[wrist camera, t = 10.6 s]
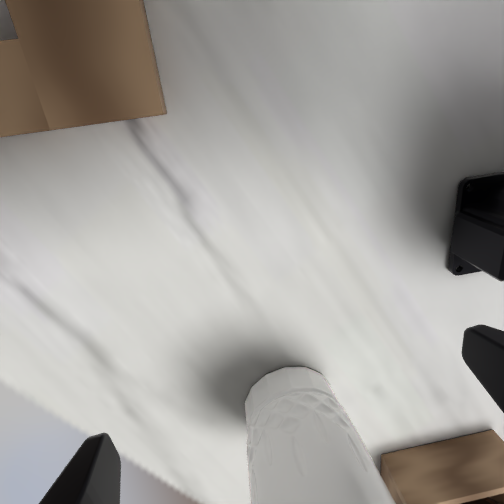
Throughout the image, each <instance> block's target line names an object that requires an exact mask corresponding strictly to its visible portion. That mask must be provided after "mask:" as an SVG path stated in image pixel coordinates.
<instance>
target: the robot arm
mask: <svg viewBox="0 0 504 504" xmlns="http://www.w3.org/2000/svg"><path fill="white" fill-rule="evenodd" d="M469 184H470V187H469V188H468V189H467V186H468V185H469ZM458 266H459V267H458ZM457 267H458V268H457ZM456 268H457V269H456ZM448 269H449V271H450V272H451V273H452V274H454V275H464V274H469V273H474V272H480V271H484V272H485V273H487V274H489V275H490V276H492V277H494V278H495V279H497V280H499V281H504V172H499V173H493V174H487V175H481V176H474V177H468V178H465V179H463V180H462V181H461V182H460V184H459V187H458V194H457V202H456V210H455V217H454V225H453V233H452V242H451V250H450V258H449V266H448ZM462 357H463V359H464V361H465V363H466V364H467V366H468V367H469V368H470V370H471V371H472V372H473V374H474V375H475V376H476V377H477V379H478V380H479V381H480V383H481V384H482V385H483V387H484V388H485V389H486V391H487V392H488V393H489V395H490V396H491V397H492V398H493V400H494V401H495V402H496V404H497V405H498V406H499V408H500V409H501V410H502V411H503V413H504V331H501V330H498V329H495V328H492V327H489V326H486V325H476V326H473V327H469V328H467V329H466V330H465V331H464V337H463V345H462ZM120 477H121V461H120V457H119V454H118V452H117V450H116V448H115V446H114V444H113V442H112V440H111V438H110V436H109V435H108V434H107V433H101V434H98V435H94V436H91V437H89V438H87V439H86V440H85V441H84V443H83V444H82V445H81V447H80V448H79V449H78V451H77V452H76V454H75V455H74V456H73V458H72V459H71V460H70V462H69V463H68V464H67V466H66V467H65V468H64V470H63V471H62V473H61V474H60V476H59V477H58V478H57V479H56V481H55V482H54V484H53V485H52V486H51V488H50V489H49V490H48V492H47V493H46V495H45V496H44V498H43V499H42V500H41V501H40V503H39V504H120Z"/></svg>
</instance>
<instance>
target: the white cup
mask: <svg viewBox="0 0 504 504" xmlns="http://www.w3.org/2000/svg"><path fill="white" fill-rule="evenodd" d="M245 412H246V422H247V443H246V444H247V460H248V475H249V487H250V499H251V504H396V503H395V501H394V499H393V497H392V495H391V493H390V492H389V490H388V488H387V486H386V484H385V482H384V480H383V478H382V477H381V475H380V473H379V471H378V469H377V467H376V465H375V464H374V462H373V460H372V458H371V456H370V454H369V452H368V450H367V448H366V447H365V445H364V443H363V441H362V439H361V437H360V436H359V434H358V432H357V430H356V429H355V427H354V425H353V424H352V422H351V420H350V418H349V416H348V415H347V413H346V411H345V409H344V408H343V407H342V406H341V405H340V403H339V401H338V399H337V397H336V395H335V393H334V391H333V389H332V388H331V386H330V385H329V383H328V382H327V381H326V379H325V378H324V377H323V375H322V374H321V373H318V372H316V371H313V370H311V369H309V368H306V367H284V368H282V369H279V370H276V371H274V372H271V373H269V374H266V375H265V376H264V377H263V378H261V379H260V380H259V381H258V382H257V383H256V384H255V385H253V386H252V387H251V390H250V392H249V394H248V397H247V399H246V401H245Z"/></svg>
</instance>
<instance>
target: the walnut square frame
mask: <svg viewBox="0 0 504 504" xmlns="http://www.w3.org/2000/svg"><path fill="white" fill-rule="evenodd" d="M5 2H6V4H7V7H8V10H9V13H10V16H11V19H12V22H13V25H14V27H15V30H16V33H17V36H18V39H10V40H2V41H0V137H5V136H13V135H20V134H27V133H34V132H42V131H49V130H56V129H63V128H71V127H78V126H85V125H92V124H100V123H107V122H114V121H121V120H128V119H136V118H143V117H150V116H157V115H164V114H167V111H166V106H165V101H164V97H163V92H162V87H161V82H160V78H159V73H158V68H157V64H156V59H155V54H154V49H153V45H152V40H151V35H150V30H149V26H148V21H147V16H146V11H145V7H144V2H143V0H5Z"/></svg>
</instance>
